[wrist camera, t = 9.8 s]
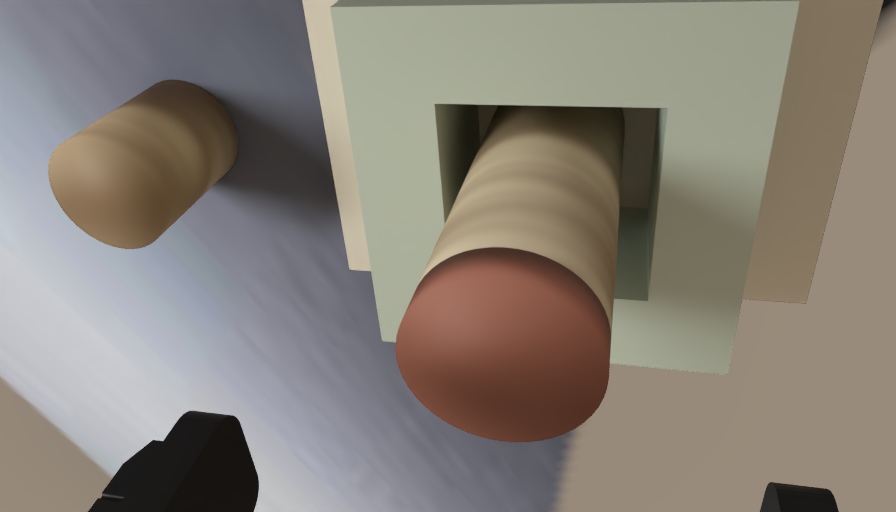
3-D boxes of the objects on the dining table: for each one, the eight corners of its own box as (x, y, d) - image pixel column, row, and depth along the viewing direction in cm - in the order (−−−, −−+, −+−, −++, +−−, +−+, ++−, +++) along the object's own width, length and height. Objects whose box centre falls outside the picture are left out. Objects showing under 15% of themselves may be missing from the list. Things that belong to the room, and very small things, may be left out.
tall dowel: (492, 65, 22) (383, 270, 13) (628, 65, 21) (614, 287, 12) (497, 183, 24) (407, 429, 15) (621, 187, 23) (604, 453, 14)
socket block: (302, -79, 21) (202, -36, 17) (896, -105, 18) (989, -58, 13) (358, 255, 28) (298, 356, 23) (800, 286, 24) (838, 413, 20)
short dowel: (124, 79, 26) (29, 135, 22) (223, 80, 25) (142, 139, 21) (156, 177, 28) (75, 245, 24) (249, 181, 27) (179, 252, 23)
